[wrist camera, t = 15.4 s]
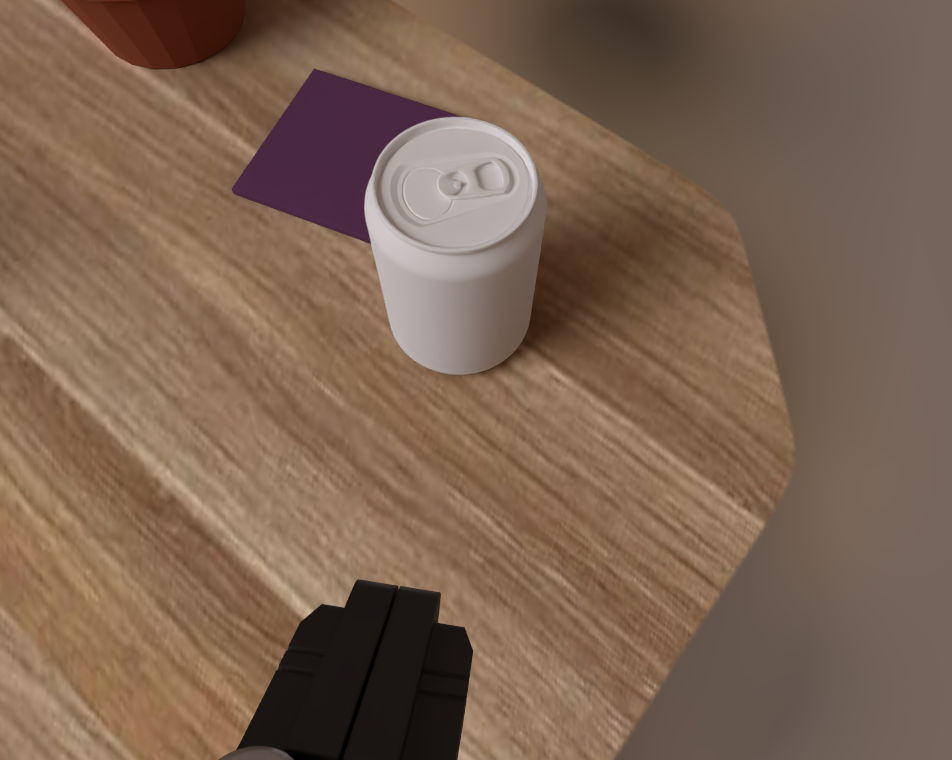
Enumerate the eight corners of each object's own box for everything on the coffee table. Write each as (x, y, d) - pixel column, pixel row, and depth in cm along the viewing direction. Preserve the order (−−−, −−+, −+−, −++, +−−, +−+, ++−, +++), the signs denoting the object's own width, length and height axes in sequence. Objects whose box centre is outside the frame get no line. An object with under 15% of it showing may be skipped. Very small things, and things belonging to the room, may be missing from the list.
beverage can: (376, 274, 42) (342, 129, 31) (507, 243, 43) (518, 91, 32) (408, 395, 39) (382, 282, 28) (547, 360, 40) (575, 236, 29)
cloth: (476, 126, 47) (476, 121, 46) (406, 257, 43) (405, 252, 42) (315, 74, 48) (314, 68, 48) (233, 194, 44) (230, 188, 44)
